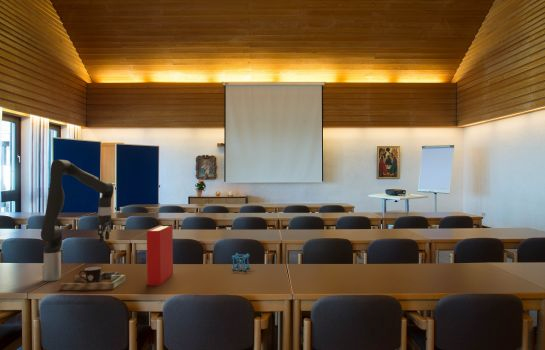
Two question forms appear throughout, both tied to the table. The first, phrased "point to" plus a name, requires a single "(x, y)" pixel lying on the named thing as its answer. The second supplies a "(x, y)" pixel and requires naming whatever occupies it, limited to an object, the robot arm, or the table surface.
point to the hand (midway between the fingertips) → (104, 240)
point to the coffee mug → (92, 274)
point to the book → (159, 254)
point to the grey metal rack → (91, 286)
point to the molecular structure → (240, 262)
